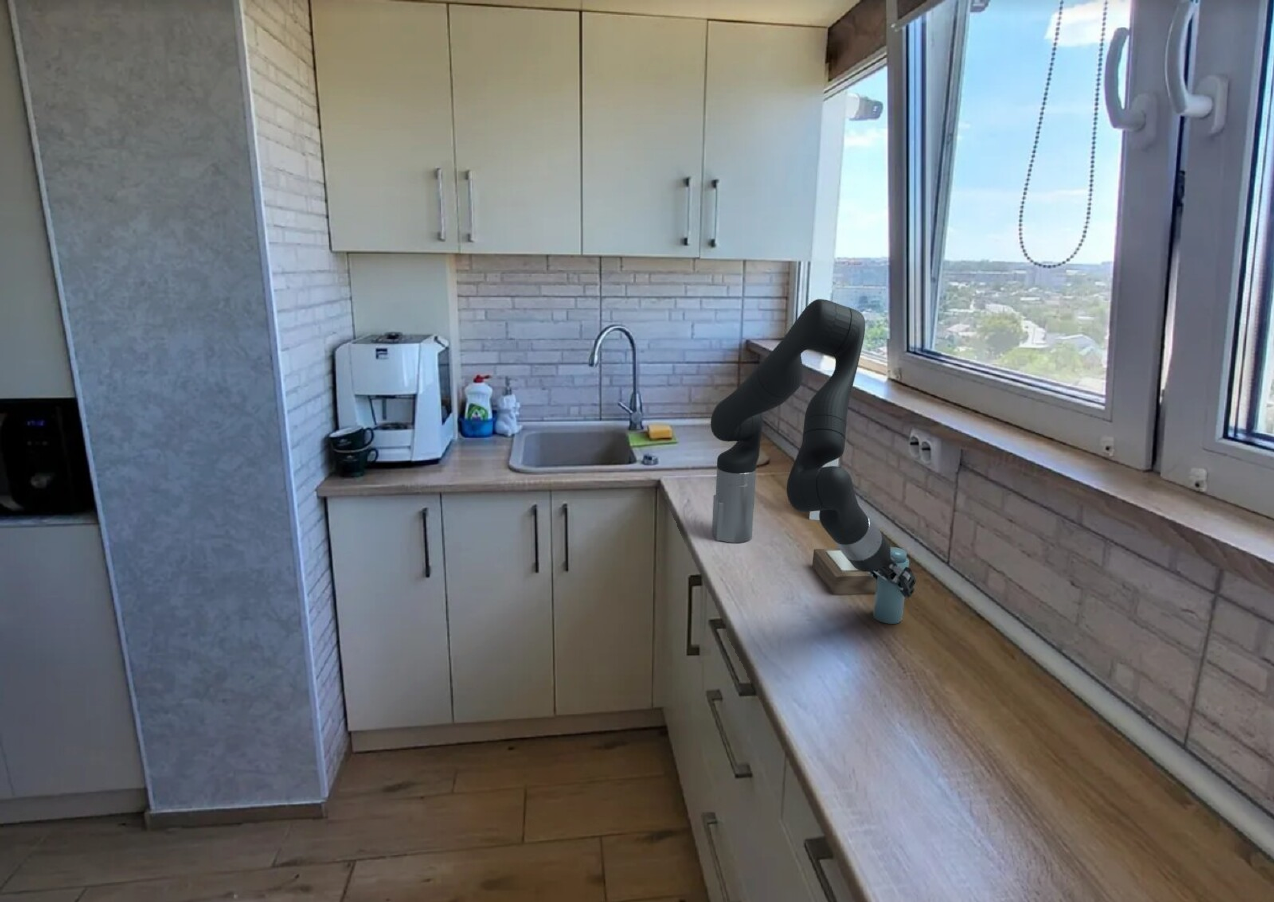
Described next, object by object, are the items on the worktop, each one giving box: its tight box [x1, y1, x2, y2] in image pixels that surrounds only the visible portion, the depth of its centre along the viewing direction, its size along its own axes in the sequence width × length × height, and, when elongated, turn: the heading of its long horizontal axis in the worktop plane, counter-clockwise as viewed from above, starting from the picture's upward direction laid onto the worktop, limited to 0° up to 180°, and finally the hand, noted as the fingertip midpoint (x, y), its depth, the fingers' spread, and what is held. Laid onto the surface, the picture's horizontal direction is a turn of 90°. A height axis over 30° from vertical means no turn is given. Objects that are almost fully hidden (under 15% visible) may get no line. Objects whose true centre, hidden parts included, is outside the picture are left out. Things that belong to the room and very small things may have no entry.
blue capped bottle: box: [872, 546, 910, 625], centre depth 138 cm, size 5×5×14 cm
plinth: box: [812, 548, 877, 596], centre depth 156 cm, size 14×14×4 cm
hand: (896, 587), depth 139 cm, fingers closed on blue capped bottle, 5 cm apart
